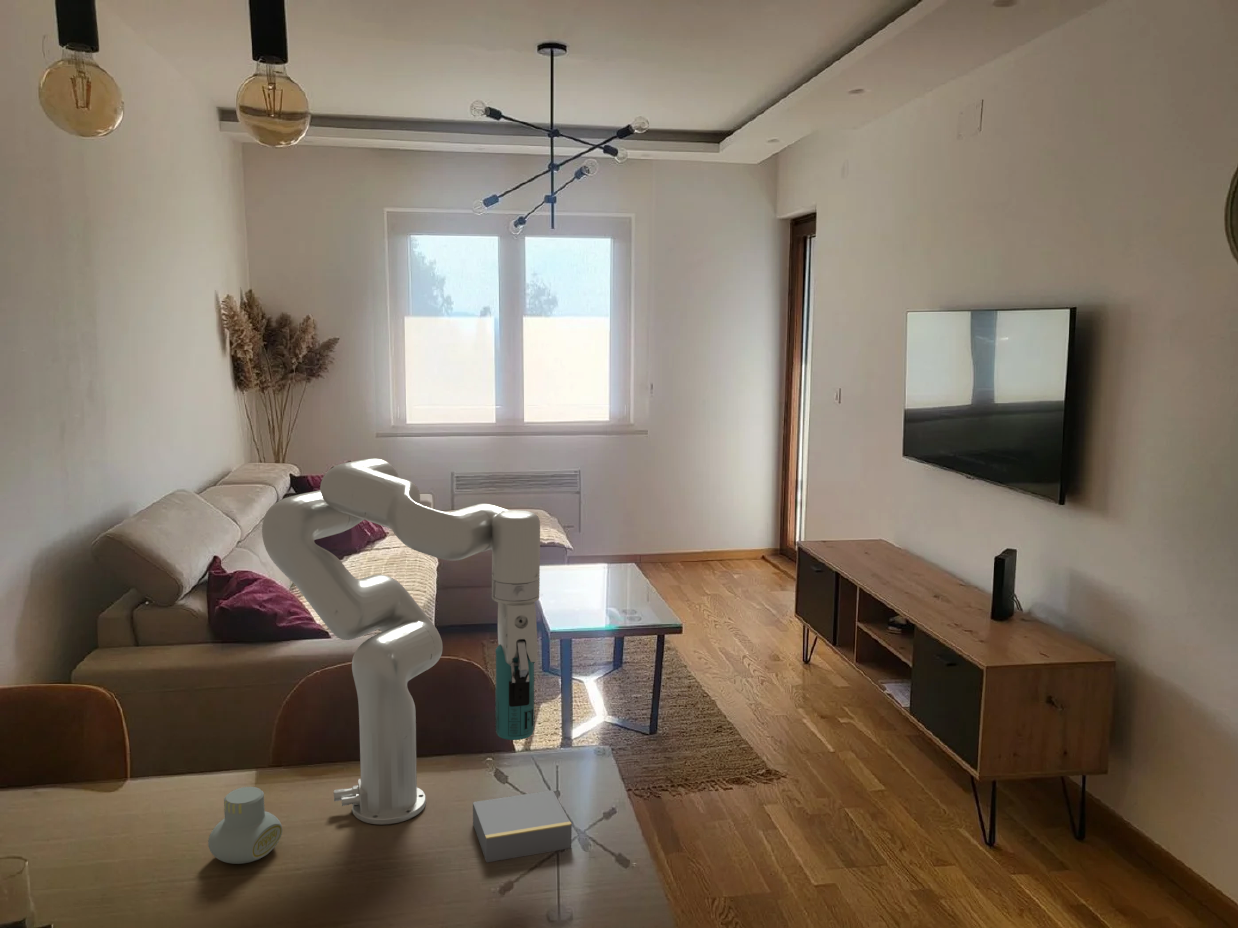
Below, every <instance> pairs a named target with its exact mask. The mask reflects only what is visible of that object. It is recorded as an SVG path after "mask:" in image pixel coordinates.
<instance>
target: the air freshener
mask: <svg viewBox="0 0 1238 928" xmlns="http://www.w3.org/2000/svg"><path fill="white" fill-rule="evenodd" d="M223 804H224V805H223V811H224V818H222V820H220V821H219V822H218V823H217V824H216V825H215V826H214V828H213V829H212V831H211V833H210V834H209V837H208V840H207V841H208V844H207V845H208V848H209V851H210V853H211V854H212V855H213V856H214V858H216V859H217V860H219V861H221V862H224V863H227V864H232V865H234V864H237V865H241V864H248V863H252V862H255V861H258V860H260V859H261V858H263V857H265V856H267V855H268V854H269V853H270V852H271V851H273V849H275V847H276V846H277V844H278V843H279V841H280V839H281V837H282V835H283V827H282V823H281V821H280V820H279V819H278V817H277V816H275V814H273V813H272V812H269V811H266V810H265V809H266V808H265V793H264V791H263V790H262V789H261V788H259V787H255V786H243V787H239V788H235V789H234V790H231V791H230V792H229V793H227V794H226V795H225V796H224V798H223Z"/></svg>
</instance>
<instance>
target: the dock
mask: <svg viewBox="0 0 1238 928" xmlns="http://www.w3.org/2000/svg"><path fill="white" fill-rule="evenodd" d="M569 819H570V818H569V817H568V816H567V814H566V812H565V810H564V808H563V806H562V805H561V803H560V801H559V799H558V797H557V796H556V793H555V792H554V790H553V789H551V790H545V791H539V792H531V793H525V794H517V795H512V796H504V797H499V798H498V797H497V798H490V799H484V800H478V801H473V802H472V825H473V828H474V831H475V834H476V836H477V840H478V843H479V844H480V849H481V851H482V854H483V857H484V860H485V862H486V863H492V862H497V861H503V860H509V859H513V858H514V859H515V858H519V857H520V858H521V857H526V856H531V855H537V854H538V855H539V854H543V853H549V852H555V851H561V850H567V849H572V834H573V833H572V829H573V828H572V827H573V826H572V822H571V821H570V820H569Z"/></svg>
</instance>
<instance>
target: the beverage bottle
mask: <svg viewBox="0 0 1238 928" xmlns="http://www.w3.org/2000/svg"><path fill="white" fill-rule="evenodd" d="M516 649H517V648H516ZM528 657H529V656H528ZM513 662H518V657H517V658H513ZM518 667H519V666H516V667H515V672H516V670H519V669H518ZM528 667H529V681H530V688H529V704H528V705H525V706H515V707H510V706H509V681H511V675H510V665H509V664H507V663H506V661H505V656H504V652H503V649H502V646H501V644H500V645H497V647H496V648H495V697H494V700H495V701H494V702H495V704H494V708H495V711H494V712H495V714H494V715H495V718H494V721H495V722H494V725H495V726H494V727H495V733H496V735H497V736H498V737H499V738H500V739H501V738H502V739H505V740H507V741H520V740H524V739H528V738H530V737H531V736H532V735H533V734H534V731H535V725H536V715H535V699H536V697H535V695H536V694H535V693H536V691H535V681H536V679H535V670H536V669H535V663H532V662H530V660H529V658H528Z"/></svg>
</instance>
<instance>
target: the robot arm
mask: <svg viewBox="0 0 1238 928" xmlns="http://www.w3.org/2000/svg"><path fill="white" fill-rule="evenodd" d="M321 479H322V480H321V481H320V487H319V490H314V491H310V492H304V493H300V494H296V495H291V496H288V497H285V498H283V499H279V501H277V502H275V503H273V504H272V506H270V507H269V508H268V509H267V511H266V512H265V514H264V517H263V520H262V524H261V526H262V527H261V534H262V536H261V537H262V541H263V545H264V548H265V551H266V552H267V554H268V556H269V558H270V559H271V561H272V562H273V564H274V565H275V566H276V567H277V568H278V569H279V570H280V571H281V573H283V574H284V575H285V576H286V577H287V578H288V579H289V580H290V581H291V582H292V583H293V585H294V586H295V587H296V588H297V589H298V590H299V592H300V593H301V594H302V596H303V597H304V599H305V600H306V601H307V603H308V604H309V605H310V607H311V608H312V609H313V610H314V612H315V613H316V615H318V617H319V619H320V620H321V621H322V622H323V623H324V624H325V626H326V627H327V628H328V629H329V631H330V632H331V633H332V634H333V635H334V636H335V637H337V638H338V639H340V640H343V641H351V640H352V641H353V640H355V639H358V638H361V637H363V636H366V635H368V634H371V633H373V632H375V631H377V630H380V632H379V633H377V634H375V635H372V636H371V637H369V638H367V639H366V640H365V641H363V642H362V643H361V644H360V645H359V646H358V647H357V649H356V650H355V652H354V654H353V657H352V659H351V660H352V661H351V670H352V676H353V680H354V685H355V689H356V694H357V701H358V702H357V703H358V704H357V705H358V718H359V719H358V721H359V722H358V723H359V724H358V725H359V759H360V764H359V765H360V778H358V780H357V784H355V785H352V787H349V788H338V789H334V790H333V802H340V801H341V806H342V807H344V806H350V805H351V808H352V809H351V810H352V814H353V815H354V817H355V818H357V820H360V821H362V822H364V823H366V824H372V825H391V824H393V825H394V824H398V823H401V822H405V821H408V820H410V819H413V818H414V817H416V816H417V815H419V814H420V813H421V812H422V811H423V810H424V808H425V807H426V806H427V805H426V804H427V796H426V794H425V792H424V791H423V790H422V789H421V788H419V787H418V786H417V784H418V783H417V723H416V722H417V719H416V716H417V715H416V705H415V702H414V699H413V696H412V695H411V692H410V691H409V688H408V683H409V681H411V680H412V679H414V678H416V677H417V676H418V675H420V674H422V673H424V672H425V671H428V670H429V669H431V668H432V667H433V666H435V665H436V664H437V663H438V662H439V660H440V659H441V656H442V654H443V641H442V638H441V635H440V633H439V631H438V629H437V627H436V626H435V624H434V623H433V621H432V620H431V619H430V618H429V616H427V614H426V613H425V612H424V610H423V609H422V608H421V607H420V605H419V604H418V603H417V601H416V600H415V599H414V598H413V597H412V595H411V594H410V593H409V592H408V590H407V589H406V588H405V586H404V585H402V583H400V582H399V581H398V580H396V579H394V577H391V576H389V575H385V574H373V575H369V576H366V577H363V578H360V579H359V578H356V577H355V576H354V575H353V574H352V573H351V572H350V571H349V570H348V569H347V568H346V566H345V565H344V563H343V562H342V561H341V560H340V559H339V557H337V556H336V555H335V554H333V553H332V552H331V551H329V550H328V549H326V548H324V547H321V546H320V545H318V544H316V542H315V540H319V539H323V538H326V537H330V536H334V535H337V534H338V535H339V534H341V533H344V532H345V531H348V530H350V529H352V528H354V527H356V526H358V525H359V524H360V523H361V522H363V521H367V522H371V523H373V524H376V525H378V526H381V527H385V528H387V529H390V530H392V532H393V533H394V535H395V536H396V537H397V539H398V540H399V541H401V543H403V545H405V546H406V547H408V548H410V549H411V550H412V551H416V552H418V553H422V554H424V555H427V556H431V557H433V558H436V559H440V560H446V561H460V560H463V559H466V558H470V557H471V556H474V555H477V554H480V553H482V552H487V551H490V550H491V600H492V601H494V602H496V603H497V643H498V645H497V646H499V645H500V644H501V646H502V649H503V652H504V656H505V661H506V663H507V664H509V665H510V675H511V681H509V706H510V707H515V706H525V705H528V704H529V688H530V681H529V667H528V658H529V660H530V662H532V663H534V664H536V663H537V662H538V635H537V634H538V633H537V631H538V629H537V612H536V611H537V610H536V605H535V604H536V603H535V602H537V601H538V600H539V599H540V586H541V585H540V577H541V576H540V573H541V572H540V570H541V569H540V564H541V560H540V559H541V554H540V553H541V520H540V518H539V516H538V514H536V513H534V512H532V511H528V510H520V509H519V510H518V509H511V510H510V509H507V508H503V507H500V506H498V505H494V504H491V503H478V504H474V505H470V506H467V507H463V508H460V509H457V510H453V511H450V512H446V511H442V510H439V509H434V508H432V507H428V506H425V505H423V504H421V493H420V490H419V488H418V486H417V485H416V484H415V483H414V482H412V481H411V480H408V479H404V478H400V476H399V473H398V471H397V470H396V469H395V467H394V466H393V465H392V464H391V463H389V462H388V461H386V460H384V459H381V458H376V457H375V458H365V459H361V460H360V459H359V460H355V461H348V462H343V463H341V464H337V465H335V466H333V467H332V468H329V470H328V471H326V473H325V474H324V475H323V477H322V478H321ZM516 648H517V649H516ZM528 656H529V657H528ZM517 657H518V662H513V658H517ZM516 666H519V667H518V669H519V670H516V672H515V667H516Z"/></svg>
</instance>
